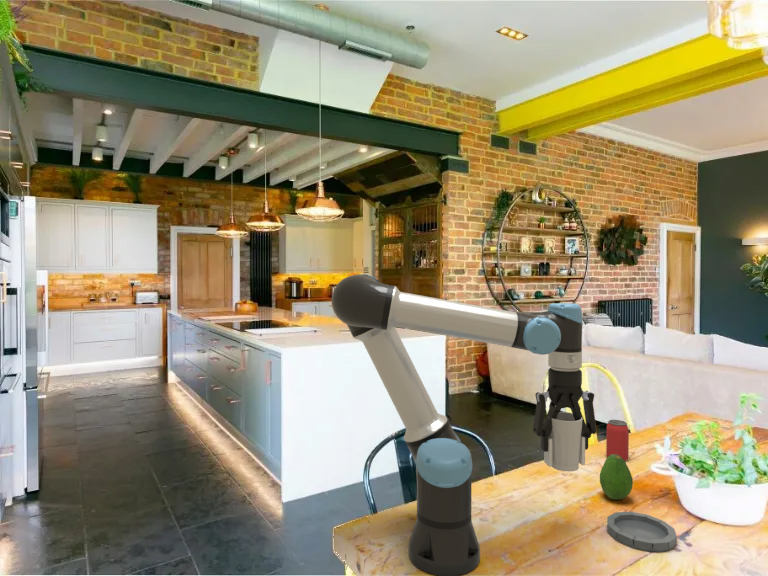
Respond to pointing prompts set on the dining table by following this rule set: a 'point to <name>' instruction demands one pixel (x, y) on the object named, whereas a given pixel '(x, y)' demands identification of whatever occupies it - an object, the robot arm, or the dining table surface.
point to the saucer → (641, 531)
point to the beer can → (617, 439)
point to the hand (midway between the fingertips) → (564, 463)
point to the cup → (566, 442)
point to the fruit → (616, 478)
